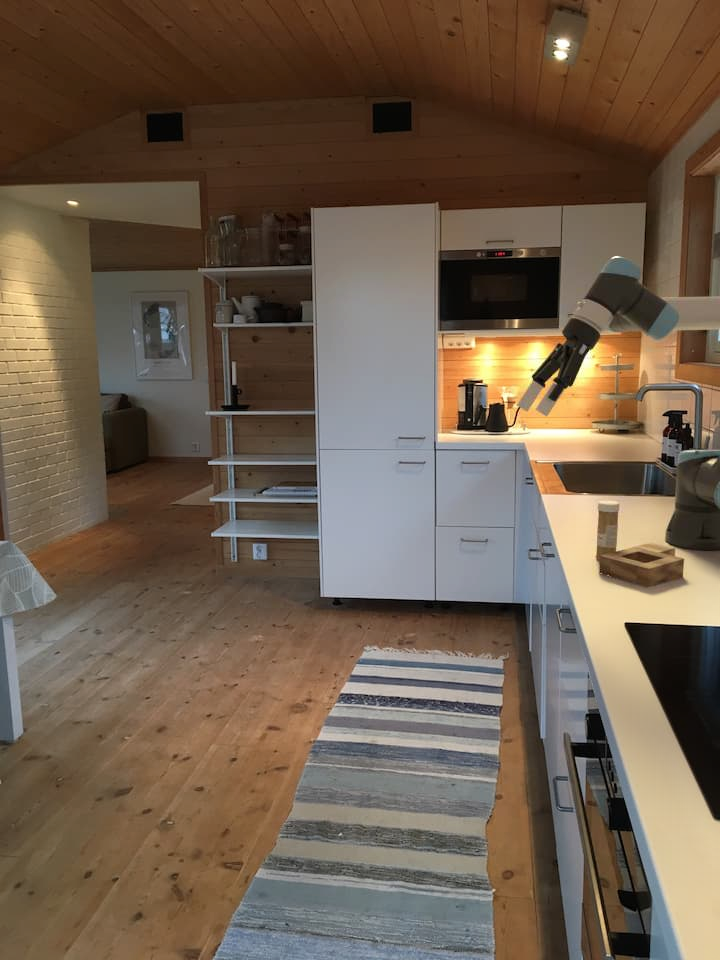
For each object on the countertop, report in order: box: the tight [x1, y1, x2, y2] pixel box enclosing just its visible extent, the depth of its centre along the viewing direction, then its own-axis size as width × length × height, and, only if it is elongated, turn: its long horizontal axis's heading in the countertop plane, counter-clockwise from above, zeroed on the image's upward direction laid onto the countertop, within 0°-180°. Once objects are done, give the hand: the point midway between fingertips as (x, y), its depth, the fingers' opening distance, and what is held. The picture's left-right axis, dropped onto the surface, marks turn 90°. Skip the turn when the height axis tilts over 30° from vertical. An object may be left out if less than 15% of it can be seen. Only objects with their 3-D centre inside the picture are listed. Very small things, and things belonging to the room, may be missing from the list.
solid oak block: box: [634, 542, 676, 557], centre depth 170 cm, size 6×6×4 cm
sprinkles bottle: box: [595, 499, 620, 561], centre depth 173 cm, size 5×5×13 cm
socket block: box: [598, 546, 685, 588], centre depth 162 cm, size 12×12×4 cm
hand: (530, 410), depth 165 cm, fingers open, 13 cm apart
